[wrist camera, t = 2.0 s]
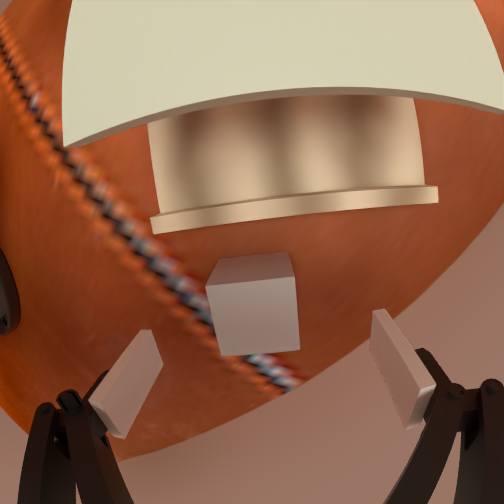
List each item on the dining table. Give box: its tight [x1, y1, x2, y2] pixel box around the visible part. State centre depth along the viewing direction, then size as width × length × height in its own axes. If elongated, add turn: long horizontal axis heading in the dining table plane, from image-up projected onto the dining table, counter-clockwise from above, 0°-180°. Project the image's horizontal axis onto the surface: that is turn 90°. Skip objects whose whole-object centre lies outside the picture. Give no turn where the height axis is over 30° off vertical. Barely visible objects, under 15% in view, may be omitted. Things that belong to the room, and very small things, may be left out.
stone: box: [205, 251, 300, 356], centre depth 20 cm, size 6×6×6 cm
